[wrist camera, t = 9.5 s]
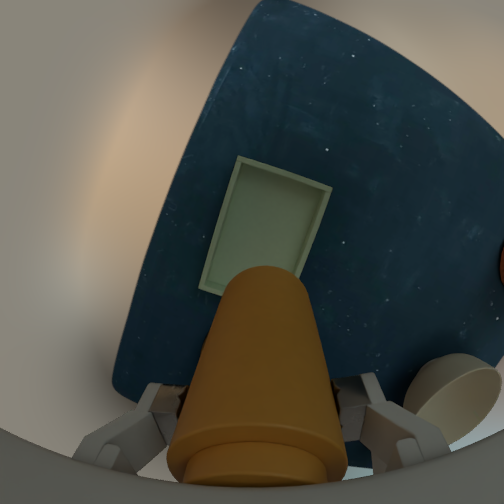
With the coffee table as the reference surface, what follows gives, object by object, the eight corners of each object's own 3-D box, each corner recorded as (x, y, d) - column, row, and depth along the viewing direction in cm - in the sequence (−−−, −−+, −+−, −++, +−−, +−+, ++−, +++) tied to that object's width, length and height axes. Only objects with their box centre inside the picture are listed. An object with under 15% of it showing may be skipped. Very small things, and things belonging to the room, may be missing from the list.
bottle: (215, 268, 17) (72, 573, 2) (307, 261, 16) (403, 597, 1) (227, 345, 18) (167, 607, 3) (310, 340, 17) (349, 611, 3)
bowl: (374, 367, 38) (394, 414, 29) (465, 311, 35) (501, 345, 26) (399, 422, 42) (415, 463, 32) (474, 376, 38) (500, 410, 29)
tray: (240, 156, 32) (237, 155, 30) (328, 186, 32) (333, 187, 30) (202, 281, 36) (198, 288, 34) (283, 306, 36) (283, 315, 34)
